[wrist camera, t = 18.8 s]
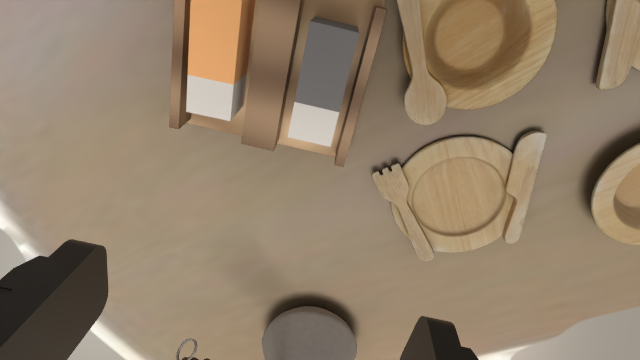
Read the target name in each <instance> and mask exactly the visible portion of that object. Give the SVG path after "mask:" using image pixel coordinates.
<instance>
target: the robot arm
mask: <svg viewBox="0 0 640 360" xmlns="http://www.w3.org/2000/svg"><path fill="white" fill-rule="evenodd" d="M107 297H108V274H107V254H106V249H105V247H104V246H101V245H96V244H91V243H87V242H82V241H77V240H73V239H72V240H68V241H66V242H65V243H63V244H62V245H61V246H60V247H59V248H58V249H57V250H56V251H55V252H54V253H52V254H51V255H50V256H49V257H44V256H38V257H36V258H34V259H32V260H30V261H28V262H25V263H23V264H21V265H20V266H17V267H15V268H13V269H12V270H11V271H10V272H9V273H8V274H6V275H5V276H4V277H3V278H2V279H1V280H0V360H67V359H68V358H69V356H70V355H71V354H72V352H73V351H74V350H75V348H76V347H77V346H78V344H79V343H80V342H81V340H82V339H83V338H84V336H85V335H86V333H87V332H88V331H89V330H90V328H91V327H92V325H93V324H94V323H95V321H96V320H97V319H98V317H99V316H100V314H101V313H102V311H103V309H104V306H105V304H106V301H107ZM400 360H478V358H477V357H476V355H475V354H474V353H473V351H472V350H471V349H470V348H465V347H461V345H460V341H459V338H458V335H457V332H456V329H455V326H454V324H453V323H451V322H448V321H443V320H439V319H434V318H429V317H425V316H421V317H420V318H419V319H418V321H417V323H416V325H415V327H414V330H413V332H412V334H411V336H410V338H409V340H408V342H407V344H406V346H405V348H404V350H403V352H402V355H401V358H400Z"/></svg>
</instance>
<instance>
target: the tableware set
mask: <svg viewBox="0 0 640 360" xmlns="http://www.w3.org/2000/svg"><path fill="white" fill-rule="evenodd" d="M396 1H397V6H398V10H399V14H400V19H401V23H402V27H403V39H402V49H403V58H404V63H405V66H406V69H407V72H408V74H409V76H410V78H411V81H410V83H409V85H408V87H407V89H406V91H405V95H404V107H405V110H406V112H407V114H408V116H409V117H410V118H411V119H412V120H413V121H414V122H415V123H417V124H420V125H431V124H433V123H435V122H437V121H438V120H439V119H440V118H441V117H442V116H443V114H444V112H445V110H446V107H449V108H453V109H461V110H470V109H479V108H483V107H487V106H491V105H494V104H497V103H499V102H501V101H503V100H505V99H507V98H509V97H510V96H512V95H514V94H515V93H517V92H518V91H519V90H520V89H522V88H523V87H524V86H525V85H526V84H527V83H528V82H529V81H530V80H531V79H532V78H533V77H534V76H535V75H536V73H537V72H538V71H539V69H540V68H541V67H542V65H543V64H544V62H545V60H546V59H547V57H548V55H549V52H550V50H551V47H552V45H553V41H554V38H555V34H556V28H557V10H556V2H555V0H396ZM606 25H607V32H606V37H605V42H604V46H603V51H602V56H601V61H600V66H599V70H598V75H597V80H596V87H597V88H598V89H603V90H605V89H611V88H615V87H617V86H619V85H620V84H622V83H623V82H624V80H625V79H626V77H627V76H628V73H629V71H630V69H631V67H633V68H635V69H637V70H639V71H640V0H607V5H606ZM546 137H547V134H546V133H545V132H543V131H530V132H528V133H526V134H524V135H523V136H522V137H521V138H520V139H519V141H518V143H517V145H516V147H515V150H514V153H513V154H512V153H511V152H510V151H509V150H508V149H506V148H505V147H503V146H502V145H500V144H498V143H496V142H494V141H492V140H489V139H485V138H481V137H475V136H457V137H450V138H445V139H442V140H439V141H436V142H434V143H432V144H430V145H428V146H426V147H424V148H422V149H421V150H419V151H418V152H417V153H415V154H414V155H413V156H412V157H411V158H410V159H409V160H408V161H407V162H406V163H405V164H404V166H403V167H402V168H401V166H400V164H399V163H396V164H393V165H392V166H391V168H392V171H389V169H388V168H387V167H386V168H383V169H382V172H383V174H380V173H379V171H375V172H373V173H372V178H373V180H374V182H375V184H376V186H377V188H378V190H379V192H380V194H381V195H382V197H383V198H384V199H385V200H388V201H390V202H391V207H392V212H393V216H394V219H395V221H396V223H397V225H398V226H399V228H400V229H401V230H402V232H403V233H404V234H405V235H406V236H407V237H408V238H410V239H411V242H412V244H413V247H414V249H415V251H416V253H417V256H418V258H419V259H420V260H421V261H424V262H425V261H429V260H431V259H433V258H434V252H433V250H434V251H439V252H464V251H470V250H473V249H477V248H479V247H482V246H484V245H487V244H489V243H491V242H493V241H494V240H496V239H498V238H499V237H501V236H503V239H504V240H505V242H506V243H508V244H512V243H515V242H517V240H518V239H519V237H520V234H521V230H522V227H523V223H524V219H525V216H526V212H527V208H528V205H529V201H530V197H531V194H532V190H533V186H534V182H535V179H536V175H537V171H538V167H539V163H540V160H541V156H542V152H543V148H544V144H545V141H546ZM434 172H435V173H434ZM591 213H592V216H593V219H594V221H595V223H596V224H597V226H598V227H599V228H600V230H601V231H602V232H604V233H605V234H606V235H607V236H609V237H611V238H613V239H615V240H617V241H620V242H623V243H627V244H633V245H640V143H638V144H636V145H635V146H633V147H631V148H629V149H628V150H626V151H625V152H623V153H622V154H621V155H619V156H618V157H617V158H616V159H615V160H613V161H612V162H611V163H610V164H609V165H608V166H607V168H606V169H605V170H604V172H603V173H602V174H601V176H600V177H599V179H598V180H597V182H596V184H595V187H594V189H593V192H592V197H591Z"/></svg>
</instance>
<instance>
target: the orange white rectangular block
mask: <svg viewBox="0 0 640 360" xmlns="http://www.w3.org/2000/svg"><path fill="white" fill-rule="evenodd" d="M254 8H255V0H191V3H190V28H189V52H188V77H187V102H186V112H190V113H194V114H199V115H204V116H208V117H213V118H218V119H222V120H227V121H231V120H232V119H233V117H234V116H235V115H236V114H237V113H238V111H239V110H240V109H241V108H242V107H243V106H244V98H245V89H246V80H247V71H248V62H249V53H250V44H251V35H252V26H253V17H254Z"/></svg>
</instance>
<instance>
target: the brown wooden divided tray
mask: <svg viewBox="0 0 640 360" xmlns="http://www.w3.org/2000/svg"><path fill="white" fill-rule="evenodd" d="M190 3H191V0H174V22H173V48H172V73H171V98H170V123H169V127H170V128H175V129H180V128H181V127H182V126H183V125H184V124H185V123H191V124H195V125H199V126H204V127H208V128H212V129H217V130H221V131H225V132H230V133H234V134H239V135H242V140H241V144H245V145H249V146H254V147H258V148H262V149H267V150H271V151H274V149H275V147H276V145H277V143H278V144H282V145H287V146H291V147H295V148H300V149H304V150H308V151H313V152H317V153H321V154H326V155H330V156H335V165H337V166H341V167H344V164H345V160H346V157H347V153H348V149H349V146H350V142H351V139H352V135H353V131H354V128H355V124H356V121H357V117H358V113H359V110H360V106H361V102H362V99H363V95H364V92H365V88H366V84H367V81H368V77H369V74H370V70H371V66H372V63H373V59H374V56H375V52H376V48H377V45H378V41H379V38H380V34H381V30H382V27H383V23H384V19H385V16H386V12H387V10H386V9H385V8H384V5H385V1H384V0H255V8H254V17H253V26H252V35H251V44H250V53H249V62H248V71H247V80H246V89H245V98H244V106H243V107H242V108H241V109H240V110H239V111H238V113H237V114H236V115H235V116H234V117H233V119H232V120H231V121H227V120H222V119H218V118H213V117H208V116H204V115H199V114H194V113H190V112H186V102H187V77H188V52H189V28H190ZM315 16H316V17H320V18H324V19H328V20H332V21H336V22H341V23H345V24H349V25H353V26H357V27H358V30H359V36H358V40H357V44H356V48H355V52H354V56H353V60H352V64H351V68H350V72H349V76H348V80H347V84H346V88H345V92H344V96H343V100H342V104H341V108H340V112H339V115H338V119H337V123H336V127H335V131H334V135H333V139H332V143H331V147H328V146H324V145H320V144H315V143H311V142H307V141H302V140H298V139H294V138H289V137H288V132H289V127H290V122H291V117H292V112H293V106H294V101H295V96H296V91H297V86H298V81H299V76H300V70H301V65H302V60H303V55H304V50H305V45H306V39H307V34H308V29H309V24H310V21H311V20H312V19H313V18H314V17H315Z"/></svg>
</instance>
